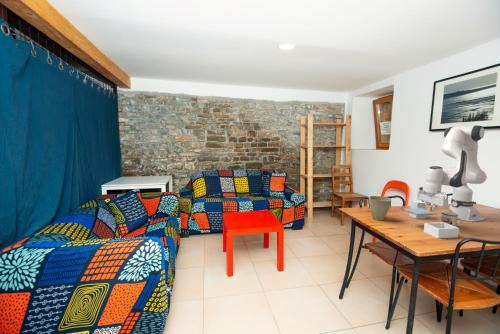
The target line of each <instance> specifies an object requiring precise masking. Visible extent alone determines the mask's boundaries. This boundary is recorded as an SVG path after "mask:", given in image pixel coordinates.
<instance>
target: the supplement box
mask: <svg viewBox="0 0 500 334" xmlns="http://www.w3.org/2000/svg"><path fill="white" fill-rule="evenodd" d="M410 208H423V209H426V210H427V208H426V204H425V201H422V200H410V206H409V209H410ZM409 217H410V218H411V217H412V218H413V219H417V220H425V219H426V215H415V214H412V213H410V212H409Z"/></svg>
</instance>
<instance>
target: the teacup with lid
mask: <svg viewBox="0 0 500 334" xmlns="http://www.w3.org/2000/svg"><path fill="white" fill-rule="evenodd" d="M459 219H460V222H459V223H458V222H457V221H458V220H459ZM440 222H444V223H447V224H450V225H452V226H455V227H457V226H460V225H462V224H463V220H462V219H461V218H458V214H457V213H454V212H453V211H452V210H451V209H449V208H448V209H447V210H442V211H441V212H440Z"/></svg>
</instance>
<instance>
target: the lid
mask: <svg viewBox="0 0 500 334" xmlns="http://www.w3.org/2000/svg"><path fill="white" fill-rule="evenodd" d="M431 207H433V205H429V206H427V208H426V209H423V208H410V207H409V208H403V210H404V211H407V212H408V213H409V214H410V213H412V214H415V215H425V216H433V215H437V214H438V213H437V212H434V211H433V210H431Z"/></svg>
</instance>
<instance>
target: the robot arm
mask: <svg viewBox="0 0 500 334" xmlns="http://www.w3.org/2000/svg"><path fill="white" fill-rule="evenodd" d="M485 131H486V130H485V128H484V126H482V125H478V124H476V125H458V126H449V127H447V128H446V129H445V130H444V133H443V137H444V140H443V142H442V144H441V151H442V153H443V154H444V155H446V156H448V157H450V158H452V159H455V160H456V166H452V167H449V168H447V170H443V167H442V166H439V165H433V166H432V165H431V166H429V167H428V168H427V171H426V175H425V180H426V181H425V183H424V186H418V187H417V189H418V190H417V194H416V199H417V201H422V202H425V204H426V209H427V206H430V204H431V205H432V206H433V207H431V210H433V211H432V212H434V211H436V208H438V206H439V207H442V208H447V207H448V205H449V199H448V194H447V193H446V192H442V187H443V186H448V187H452V198H451V200H450V203H451V204H450V205H449V208H448V209H451V210H452V211H453V212H454V213H457V214H458V218H461V219H462V221H467V222H471V223H474V222H479V221H481V222H482V221H485V218H483V217H482V216H481V212H480V210H479V209H477V208H476V207H475V206H474V205H477V201H474V200H473V195H474V191H473V190H472V189H471V188H470V187H469V186H468V184H471V185H481V184H483V183H485V182H486V180H487V174H486V172H485V171H484V170H483V169H482V168H481V166H480V165H479V162H478V153H479V152H478V150H479V141H480V140H482V139H483V138H484V136H485V134H486V133H485ZM458 220H460V219H458Z"/></svg>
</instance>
